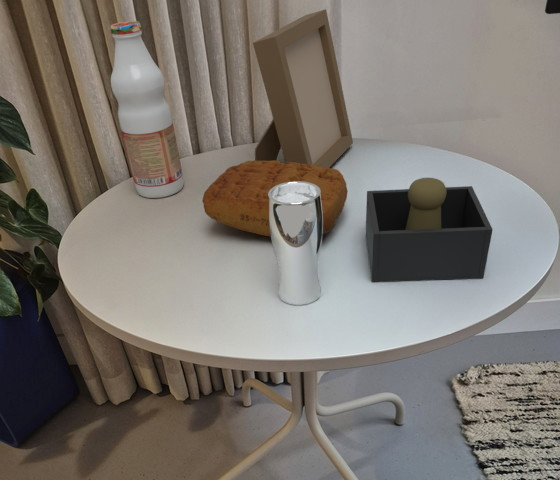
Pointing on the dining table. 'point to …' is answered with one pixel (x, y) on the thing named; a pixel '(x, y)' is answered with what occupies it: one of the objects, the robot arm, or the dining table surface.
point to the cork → (425, 204)
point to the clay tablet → (256, 185)
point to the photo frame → (303, 94)
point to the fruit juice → (144, 115)
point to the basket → (426, 238)
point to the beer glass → (297, 239)
